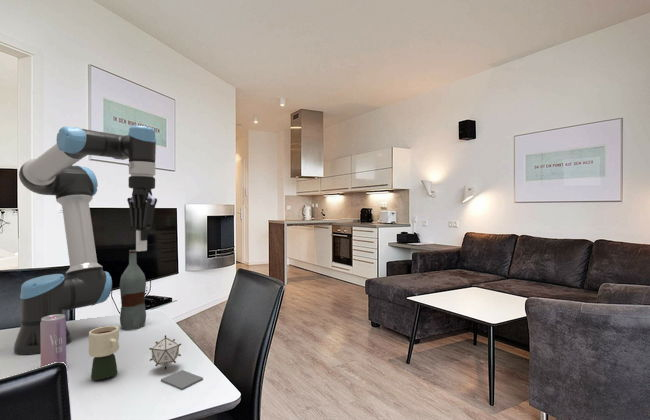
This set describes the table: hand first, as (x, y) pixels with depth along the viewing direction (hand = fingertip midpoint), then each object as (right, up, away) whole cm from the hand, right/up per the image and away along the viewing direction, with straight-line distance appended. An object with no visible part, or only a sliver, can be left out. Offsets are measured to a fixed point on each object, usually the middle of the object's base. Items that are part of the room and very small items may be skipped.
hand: (141, 250), depth 115 cm
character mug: (-3, -33, -15) cm, 37 cm away
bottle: (-17, -33, +27) cm, 46 cm away
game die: (+12, -33, -11) cm, 37 cm away
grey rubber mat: (+20, -33, -17) cm, 42 cm away
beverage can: (-20, -33, -10) cm, 40 cm away
